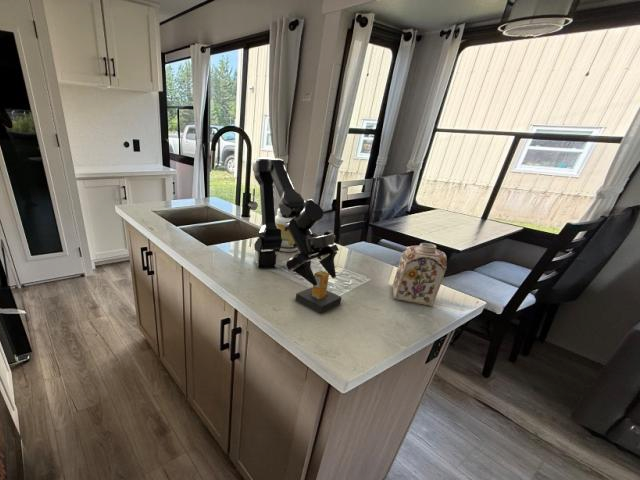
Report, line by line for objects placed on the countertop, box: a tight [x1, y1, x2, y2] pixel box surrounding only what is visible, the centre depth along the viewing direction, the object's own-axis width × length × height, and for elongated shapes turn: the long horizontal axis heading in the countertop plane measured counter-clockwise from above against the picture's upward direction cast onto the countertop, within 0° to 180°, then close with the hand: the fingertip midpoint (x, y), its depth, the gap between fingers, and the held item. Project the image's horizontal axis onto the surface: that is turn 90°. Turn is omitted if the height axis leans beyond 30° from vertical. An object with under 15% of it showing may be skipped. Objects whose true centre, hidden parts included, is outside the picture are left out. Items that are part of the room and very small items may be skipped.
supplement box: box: [312, 270, 330, 299], centre depth 101 cm, size 3×3×10 cm
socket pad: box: [294, 286, 342, 315], centre depth 102 cm, size 10×10×2 cm
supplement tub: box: [275, 207, 299, 253], centre depth 143 cm, size 12×12×17 cm
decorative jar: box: [392, 242, 448, 307], centre depth 106 cm, size 12×12×18 cm
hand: (325, 281), depth 98 cm, fingers open, 9 cm apart
